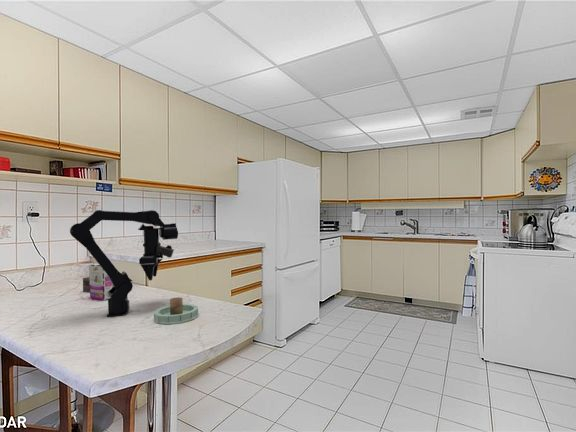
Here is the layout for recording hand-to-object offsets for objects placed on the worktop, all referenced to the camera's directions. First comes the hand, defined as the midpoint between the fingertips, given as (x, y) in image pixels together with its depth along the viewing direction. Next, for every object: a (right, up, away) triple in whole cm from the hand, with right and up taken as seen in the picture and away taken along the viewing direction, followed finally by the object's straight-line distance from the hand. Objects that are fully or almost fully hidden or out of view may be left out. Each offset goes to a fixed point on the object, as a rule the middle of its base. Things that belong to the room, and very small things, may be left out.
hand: (152, 278), depth 132 cm
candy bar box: (-32, -13, +18) cm, 39 cm away
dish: (+15, -11, -15) cm, 24 cm away
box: (-47, -14, +36) cm, 61 cm away
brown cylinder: (+15, -11, -15) cm, 24 cm away
